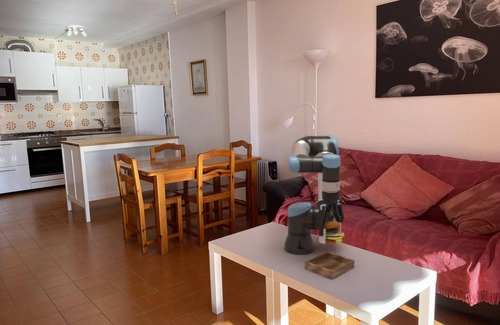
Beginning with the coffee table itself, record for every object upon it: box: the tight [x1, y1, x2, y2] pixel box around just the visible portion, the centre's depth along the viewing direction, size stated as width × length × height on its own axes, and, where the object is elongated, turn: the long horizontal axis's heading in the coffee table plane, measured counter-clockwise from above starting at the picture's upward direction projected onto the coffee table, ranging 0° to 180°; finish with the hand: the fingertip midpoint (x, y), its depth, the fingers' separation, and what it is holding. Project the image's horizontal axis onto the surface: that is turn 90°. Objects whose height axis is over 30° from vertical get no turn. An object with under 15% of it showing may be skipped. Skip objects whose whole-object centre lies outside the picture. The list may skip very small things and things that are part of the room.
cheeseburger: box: [324, 221, 345, 245], centre depth 166 cm, size 10×11×10 cm
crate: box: [304, 251, 355, 280], centre depth 169 cm, size 15×17×3 cm
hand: (330, 239), depth 167 cm, fingers closed on cheeseburger, 11 cm apart
